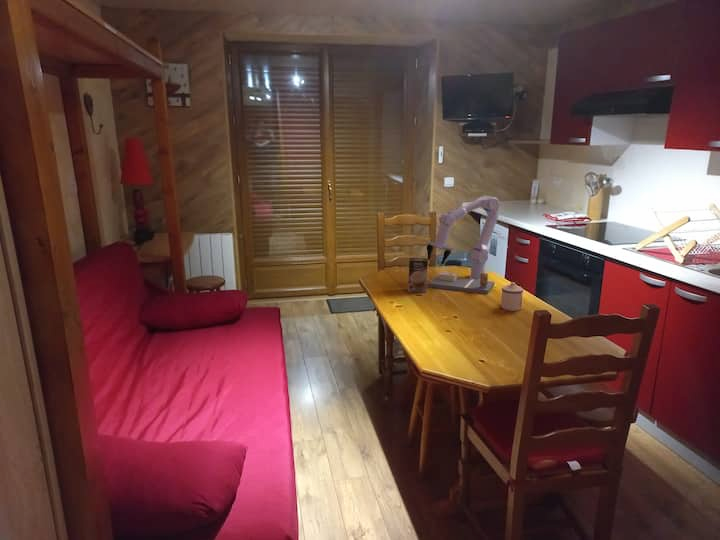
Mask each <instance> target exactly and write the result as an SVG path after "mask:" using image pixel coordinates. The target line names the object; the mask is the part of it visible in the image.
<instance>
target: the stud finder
mask: <svg viewBox="0 0 720 540" xmlns="http://www.w3.org/2000/svg"><path fill="white" fill-rule="evenodd" d="M438 275H439V280H447V281H455V280H456V279H457V278H458V273H456V272H450V271H449V272H447V271H441V272H440V273H439V274H438Z"/></svg>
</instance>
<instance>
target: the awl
mask: <svg viewBox="0 0 720 540" xmlns="http://www.w3.org/2000/svg"><path fill="white" fill-rule="evenodd" d="M488 281H489V273H487V272H485V273H480V288H487V282H488Z"/></svg>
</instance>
